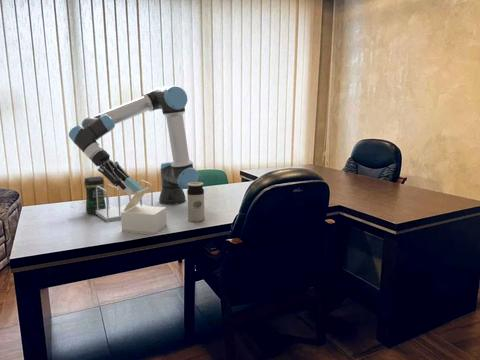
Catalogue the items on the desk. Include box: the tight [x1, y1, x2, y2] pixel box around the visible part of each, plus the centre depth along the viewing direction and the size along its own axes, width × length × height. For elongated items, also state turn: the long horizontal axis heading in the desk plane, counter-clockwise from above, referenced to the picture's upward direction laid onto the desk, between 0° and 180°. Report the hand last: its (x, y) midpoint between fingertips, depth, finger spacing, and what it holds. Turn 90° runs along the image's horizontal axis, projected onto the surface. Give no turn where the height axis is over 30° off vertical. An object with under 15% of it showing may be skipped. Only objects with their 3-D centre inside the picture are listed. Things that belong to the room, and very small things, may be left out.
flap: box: [124, 176, 150, 211], centre depth 168 cm, size 11×10×9 cm
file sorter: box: [95, 179, 154, 222], centre depth 193 cm, size 25×17×16 cm
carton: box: [120, 205, 168, 236], centre depth 169 cm, size 16×12×9 cm
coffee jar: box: [83, 176, 107, 214], centre depth 196 cm, size 10×8×19 cm
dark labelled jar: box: [186, 181, 205, 223], centre depth 182 cm, size 8×8×18 cm
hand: (133, 192), depth 168 cm, fingers closed on flap, 3 cm apart
